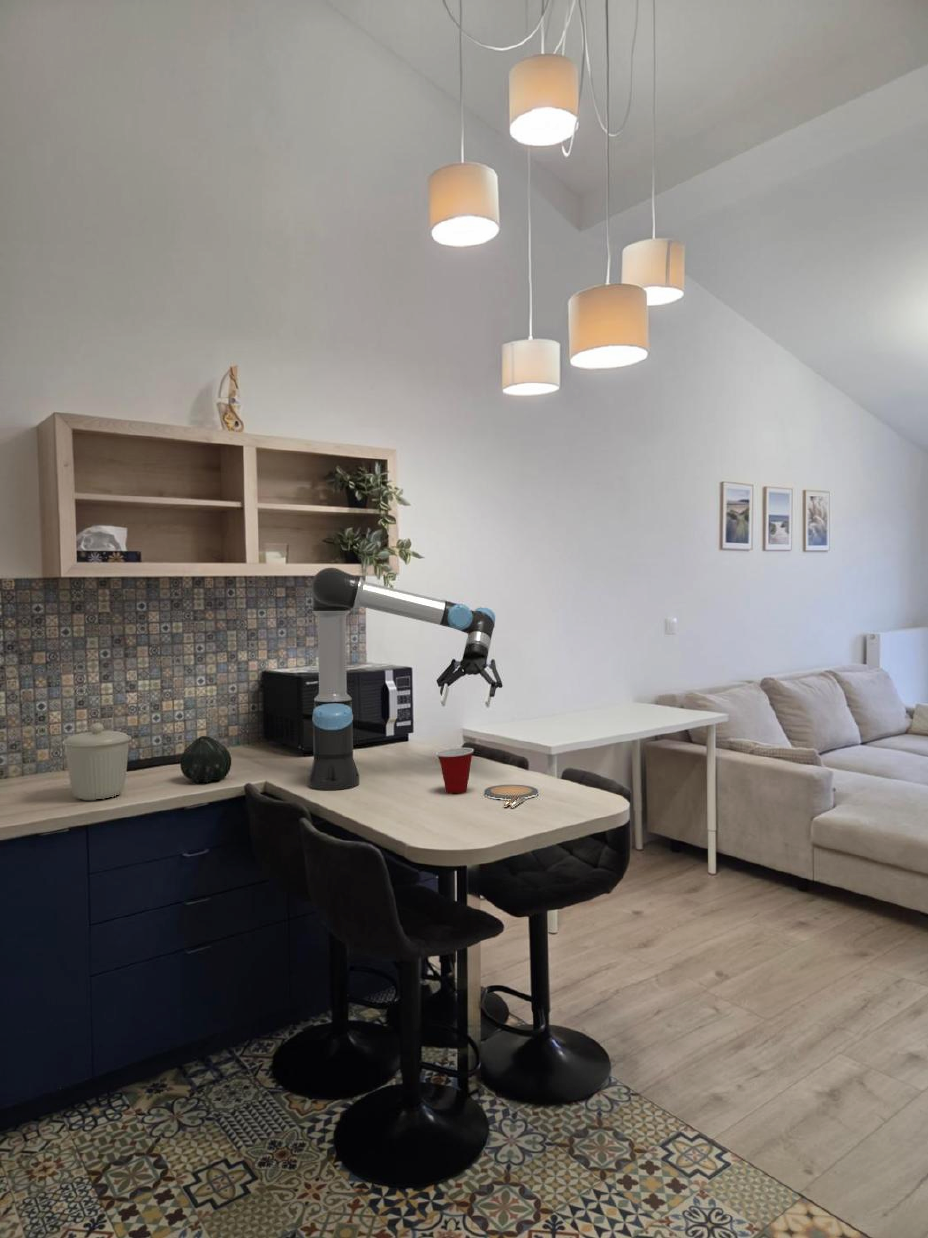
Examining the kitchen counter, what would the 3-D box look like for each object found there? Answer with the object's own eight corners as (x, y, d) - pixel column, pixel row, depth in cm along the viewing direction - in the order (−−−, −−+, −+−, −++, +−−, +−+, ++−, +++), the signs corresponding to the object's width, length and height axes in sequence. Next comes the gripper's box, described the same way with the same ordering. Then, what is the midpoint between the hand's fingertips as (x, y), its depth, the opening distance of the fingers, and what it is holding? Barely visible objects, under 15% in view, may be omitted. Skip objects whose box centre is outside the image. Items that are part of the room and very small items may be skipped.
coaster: (514, 803, 227) (514, 799, 227) (473, 795, 237) (473, 791, 237) (548, 793, 238) (548, 789, 238) (508, 785, 248) (508, 781, 248)
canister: (143, 796, 242) (141, 722, 242) (78, 808, 229) (76, 730, 229) (117, 786, 255) (114, 716, 254) (54, 797, 242) (51, 724, 241)
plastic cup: (437, 787, 247) (436, 746, 247) (474, 787, 247) (474, 746, 246) (435, 796, 236) (434, 753, 236) (474, 796, 236) (473, 753, 235)
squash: (219, 755, 273) (192, 724, 265) (247, 762, 264) (220, 731, 255) (190, 790, 266) (161, 760, 257) (218, 799, 256) (188, 768, 248)
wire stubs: (513, 809, 221) (513, 804, 221) (502, 808, 222) (502, 803, 222) (525, 801, 230) (525, 796, 230) (515, 800, 231) (515, 795, 231)
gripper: (517, 657, 264) (507, 712, 250) (441, 657, 271) (427, 710, 257) (513, 641, 259) (503, 697, 245) (436, 641, 266) (421, 695, 252)
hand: (464, 704), depth 251 cm, fingers open, 13 cm apart
